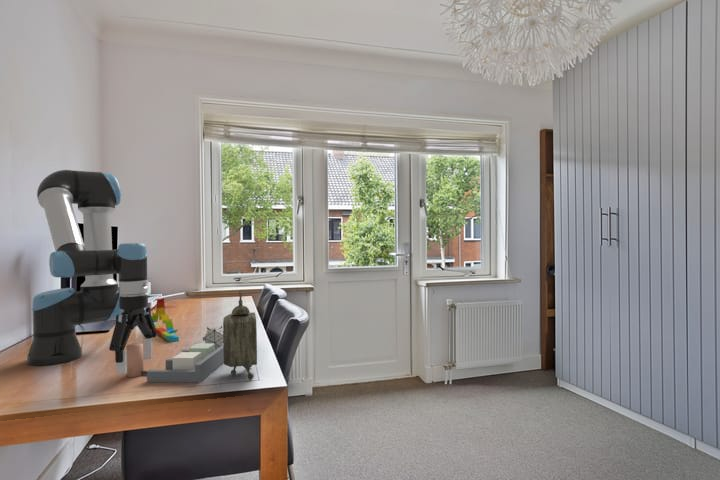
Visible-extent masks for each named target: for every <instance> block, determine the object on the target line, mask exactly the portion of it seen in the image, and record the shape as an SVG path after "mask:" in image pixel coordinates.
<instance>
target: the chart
mask: <svg viewBox="0 0 720 480" xmlns="http://www.w3.org/2000/svg"><path fill="white" fill-rule="evenodd" d="M151 316H152V319H153V322H154V323H156V324H154V325H155V328H156V331H157V333H156V335H158V336H160V337H162V338H164V339H165V340H167V341H168V342H170V343H173V342H178V341H179V340H180V339H179V337H180V336H178V335H177V334H176V333H177V332H178V331H179V330H178V329H174V325H173V319H171V318H169V314H168V313H166V307H165V299H164V298H157V299H156V308H155V310H154V311H152V313H151ZM159 321H162V324H165V328H164V327H162V326H161V325H159V324H157V322H159Z"/></svg>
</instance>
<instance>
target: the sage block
mask: <svg viewBox="0 0 720 480" xmlns="http://www.w3.org/2000/svg"><path fill="white" fill-rule="evenodd" d="M188 350H189V352H201V354H202V359H204V358H205V357H206V356H208V355H209V354H211V353H212V352H213V351H215V350H216V348H215V343H206V342H205V343H202V342H200V343H196V344H194V345H192V346H190V347H189V348H188Z"/></svg>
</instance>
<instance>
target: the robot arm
mask: <svg viewBox="0 0 720 480" xmlns="http://www.w3.org/2000/svg"><path fill="white" fill-rule="evenodd" d="M121 192H122V191H121V187H120V183H119V181H118V179H117V177H116V176H115V175H113V174H111V173H106V172H101V171H84V170H72V169H61V170H56V171H54V172H52V173H50V174H48V175H47V176H46V177H44V178H43V180H42V181H41V182H40V184H39V186H38V188H37V192H36V197H37V201H38V204H39V205H40V207H41V208H42V209H43V210H44V212H45V217H46V220H47V225H48V229H49V232H50V236H51V239H52V244H53V247H54V251H53V252H51V253H50V254H49V258H48V259H49V263H48V264H49V265H48V266H49V272H50V275H51V276H52V277H54V278H75V277H77V278H78V277H84V278H85V280H84V282H83V283H81V284H80V290H79V291H76V290H75V288H73V287H66V288H57V289H52V290H51V289H50V290H47V291H44V292H40V293H38V294H35V295H34V297H33V298H32V307H31V311H32V332H33V333H32V334H33V335H32V337H33V338H32V342H31V344H30V348H29V350H28V353H27V355H26V362H27V364H28V365H31V366H49V365H50V366H51V365H57V364H63V363H66V362H71V361H74V360H77V359H80V357H81V358H82V355H83V348H82V347H81V344H80V342H79V339H78V337H77V333H76V326H78V325H87V324H93V323H102V322H108V321H113V320H115V324H114V329H113V332H112V336H111V341H110V344H109V351H111V352H114V354H115V359H114V361H115V374H127V353H126V349H125V348H126V345H127V344H128V341H129V338H130V336H131V333H132V331H133V330H134V329H135V328H136V327H137V328H138V330H139V331H140V333H141V334H142V336H143V338H142V343H143V360H153V359H154V357H153V356H154V354H153V353H154V351H153V338H156V336H157V331H156V328H155V325H156V324H155V322H153V319H152V313H151V312H152V311H151V307H150V306H149V295H147V293H148V287H149V284H148V251H147V245H146V243H144V242H135V243H134V242H133V243H132V242H129V243H127V242H126V243H125V242H123V243H120V244H119V245H118V246H117V249H113V243H112V242H113V239H112V238H113V236H112V235H113V234H112V217H111V216H112V215H111V214H112V213H113V212H114V211H116V206H119V204H120V203H121V201H122V200H121V198H122V194H121ZM73 204H74V205H77V210H78V211H79V212H81V214H82V216H83V217H82V218H83V219H82V221H83V237H82V232H81V229H80V226H79V224H78V221H77V217H76V213H75V211H74V208H73ZM117 274H118V281H116V280H115V279H114V275H117Z"/></svg>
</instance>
